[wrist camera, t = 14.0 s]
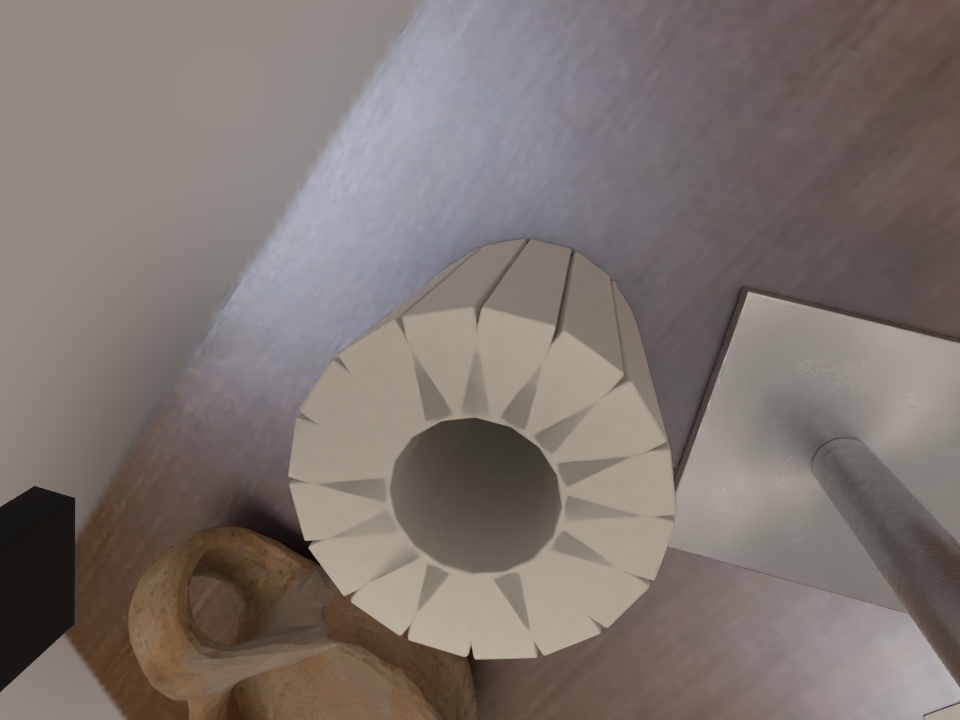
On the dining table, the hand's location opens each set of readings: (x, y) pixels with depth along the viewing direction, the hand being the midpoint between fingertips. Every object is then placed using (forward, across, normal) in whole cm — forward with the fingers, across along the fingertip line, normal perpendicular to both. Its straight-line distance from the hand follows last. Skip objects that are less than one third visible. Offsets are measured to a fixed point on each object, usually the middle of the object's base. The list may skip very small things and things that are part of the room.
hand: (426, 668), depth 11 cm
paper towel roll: (+19, 0, 0) cm, 19 cm away
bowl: (+19, -6, -18) cm, 27 cm away
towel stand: (+19, +14, -1) cm, 24 cm away
